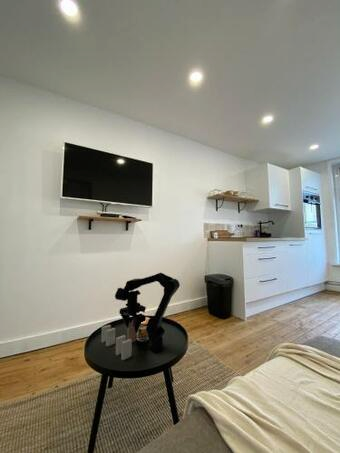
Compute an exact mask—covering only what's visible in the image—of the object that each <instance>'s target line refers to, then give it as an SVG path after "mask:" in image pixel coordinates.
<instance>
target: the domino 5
mask: <svg viewBox="0 0 340 453" xmlns="http://www.w3.org/2000/svg"><path fill="white" fill-rule="evenodd" d="M126 330H127V331H126V334H127V335H126V340H128V339H131V340H132V343H134V342H136V341H137V333H135V329H134V325H133V327H126Z"/></svg>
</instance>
